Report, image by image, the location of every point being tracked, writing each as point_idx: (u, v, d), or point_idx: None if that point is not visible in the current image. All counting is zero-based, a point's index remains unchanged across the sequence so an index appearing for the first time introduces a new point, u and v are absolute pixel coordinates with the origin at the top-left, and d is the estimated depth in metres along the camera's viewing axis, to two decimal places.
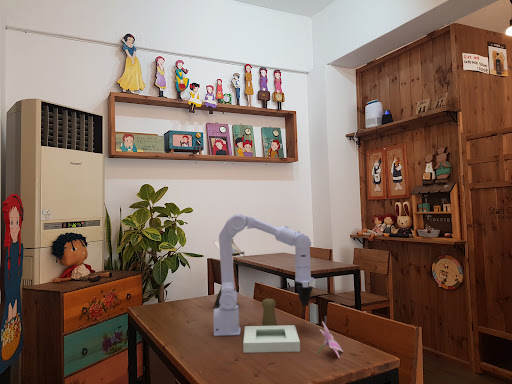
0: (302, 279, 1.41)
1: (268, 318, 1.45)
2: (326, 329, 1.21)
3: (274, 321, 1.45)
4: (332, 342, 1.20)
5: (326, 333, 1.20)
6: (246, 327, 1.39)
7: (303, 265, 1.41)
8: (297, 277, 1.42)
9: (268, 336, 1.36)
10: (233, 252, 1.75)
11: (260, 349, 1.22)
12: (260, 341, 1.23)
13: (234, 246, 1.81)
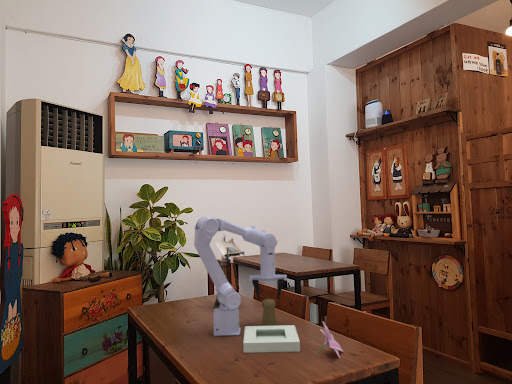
0: (260, 275, 1.51)
1: (268, 318, 1.45)
2: (326, 329, 1.21)
3: (274, 321, 1.45)
4: (332, 342, 1.21)
5: (326, 333, 1.20)
6: (246, 327, 1.39)
7: (270, 263, 1.48)
8: None
9: (268, 336, 1.36)
10: (233, 252, 1.75)
11: (260, 349, 1.22)
12: (260, 341, 1.23)
13: (234, 246, 1.81)
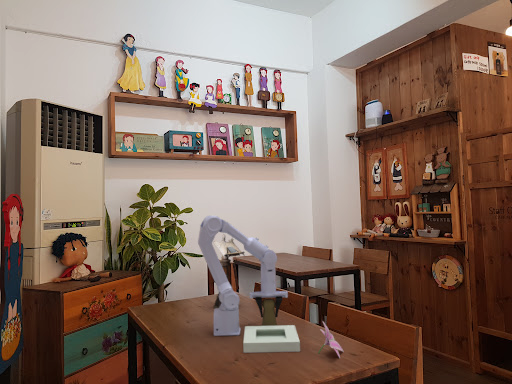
0: (261, 291, 1.48)
1: (268, 318, 1.45)
2: (326, 329, 1.22)
3: (274, 321, 1.45)
4: (333, 342, 1.21)
5: (327, 333, 1.20)
6: (246, 327, 1.39)
7: (270, 279, 1.45)
8: None
9: (268, 336, 1.36)
10: (233, 252, 1.75)
11: (260, 349, 1.22)
12: (260, 341, 1.23)
13: (234, 246, 1.81)
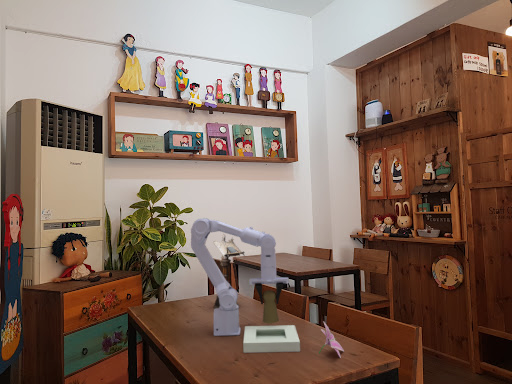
0: (261, 278, 1.44)
1: (269, 310, 1.41)
2: (327, 329, 1.22)
3: (275, 313, 1.42)
4: (333, 342, 1.21)
5: (327, 333, 1.20)
6: (246, 327, 1.39)
7: (268, 265, 1.41)
8: None
9: (268, 336, 1.36)
10: (233, 252, 1.75)
11: (260, 349, 1.22)
12: (260, 341, 1.23)
13: (234, 246, 1.81)
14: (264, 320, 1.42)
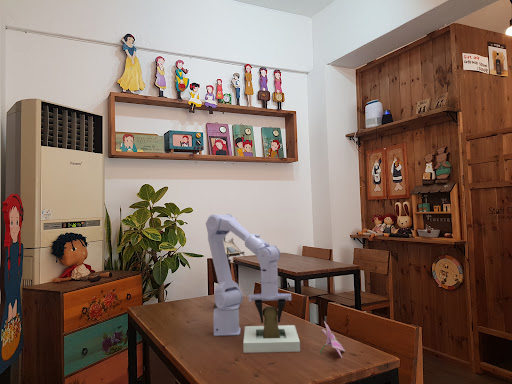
0: (261, 294, 1.32)
1: (270, 328, 1.30)
2: (328, 329, 1.22)
3: (277, 331, 1.30)
4: (334, 342, 1.21)
5: (328, 333, 1.20)
6: (246, 327, 1.39)
7: (264, 280, 1.30)
8: None
9: None
10: (233, 252, 1.75)
11: (260, 349, 1.22)
12: (260, 341, 1.23)
13: (234, 246, 1.81)
14: None
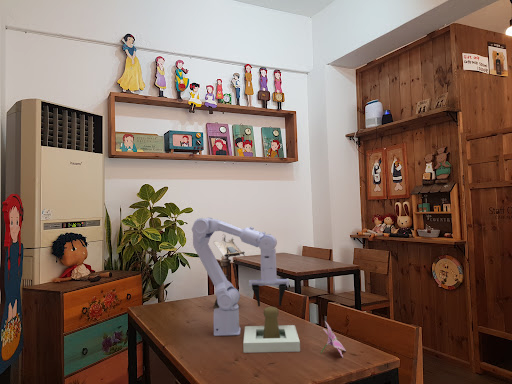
0: (261, 279, 1.41)
1: (270, 328, 1.30)
2: (329, 329, 1.22)
3: (277, 332, 1.31)
4: (335, 341, 1.21)
5: (329, 333, 1.21)
6: (246, 327, 1.39)
7: (266, 266, 1.38)
8: None
9: None
10: (233, 252, 1.75)
11: (260, 349, 1.22)
12: (260, 341, 1.23)
13: (234, 246, 1.81)
14: None
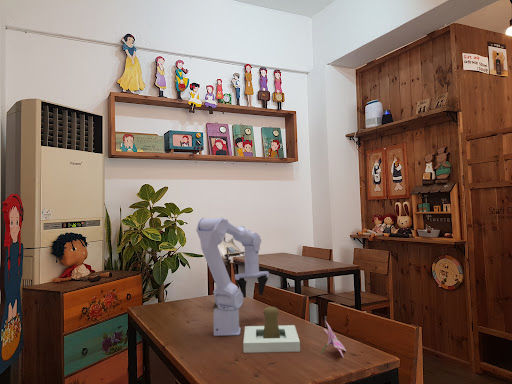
0: (245, 273, 1.56)
1: (270, 328, 1.30)
2: (329, 329, 1.22)
3: (277, 332, 1.31)
4: (335, 341, 1.21)
5: (330, 333, 1.21)
6: (246, 327, 1.39)
7: (257, 260, 1.56)
8: None
9: None
10: (233, 252, 1.75)
11: (260, 349, 1.22)
12: (260, 341, 1.23)
13: (234, 246, 1.81)
14: None
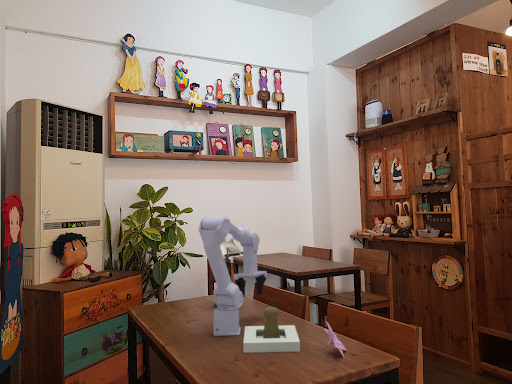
0: (243, 273, 1.57)
1: (270, 328, 1.30)
2: (330, 328, 1.22)
3: (277, 332, 1.31)
4: (336, 341, 1.21)
5: (330, 332, 1.21)
6: (246, 327, 1.39)
7: (256, 260, 1.57)
8: None
9: None
10: (233, 252, 1.75)
11: (260, 349, 1.22)
12: (260, 341, 1.23)
13: (234, 246, 1.81)
14: None
